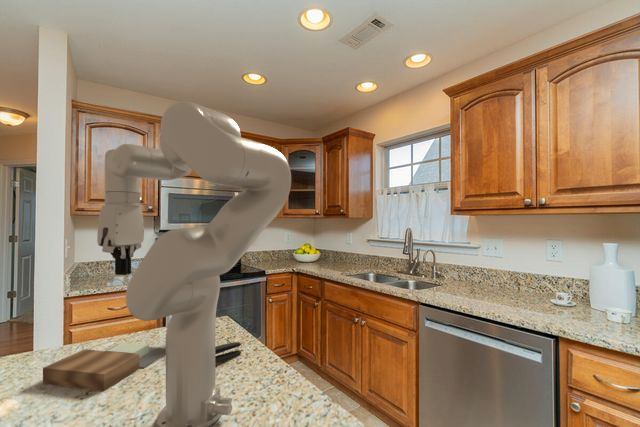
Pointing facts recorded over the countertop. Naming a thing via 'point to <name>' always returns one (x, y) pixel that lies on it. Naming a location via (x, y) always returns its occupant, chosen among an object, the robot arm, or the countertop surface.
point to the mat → (150, 356)
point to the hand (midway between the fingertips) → (123, 274)
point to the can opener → (224, 348)
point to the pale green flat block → (131, 348)
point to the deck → (91, 369)
